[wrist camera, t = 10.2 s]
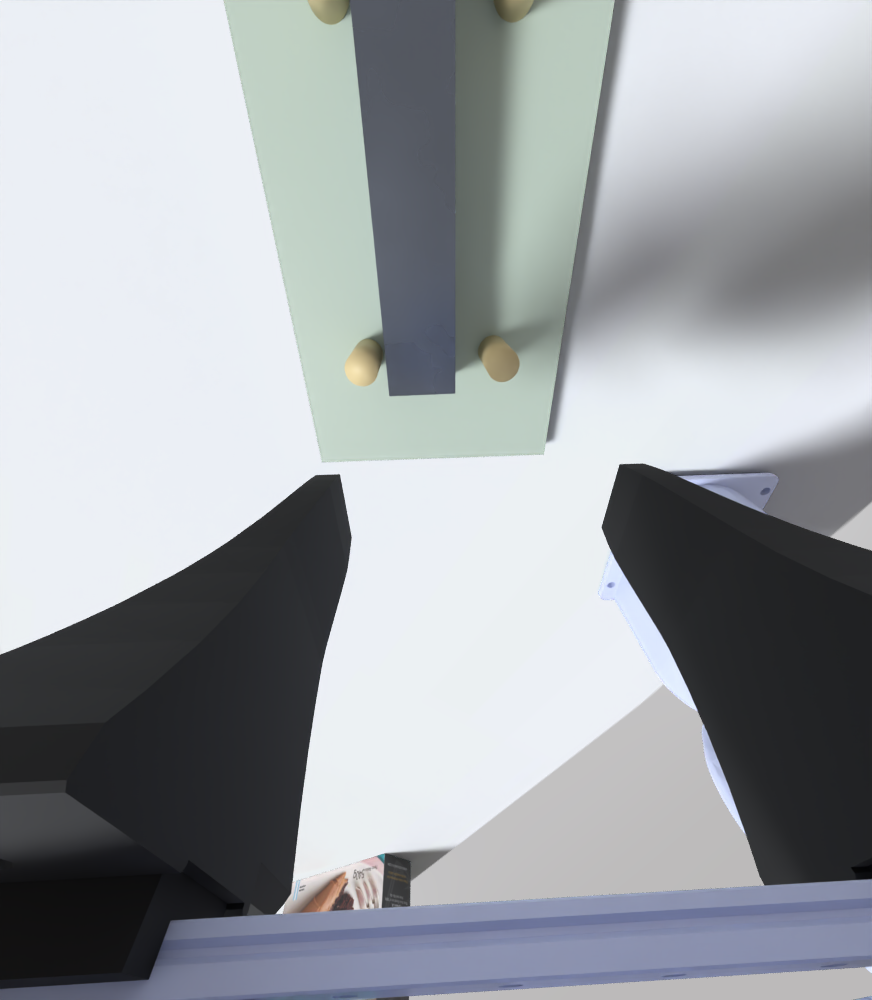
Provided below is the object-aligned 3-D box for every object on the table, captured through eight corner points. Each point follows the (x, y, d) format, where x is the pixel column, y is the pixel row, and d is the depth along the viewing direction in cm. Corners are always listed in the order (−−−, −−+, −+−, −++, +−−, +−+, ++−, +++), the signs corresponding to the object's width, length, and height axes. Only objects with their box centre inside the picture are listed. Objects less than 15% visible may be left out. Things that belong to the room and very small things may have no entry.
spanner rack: (538, 445, 19) (559, 480, 17) (326, 453, 19) (309, 489, 16) (656, -370, 8) (783, -702, 5) (158, -375, 8) (13, -722, 5)
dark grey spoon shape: (467, 373, 16) (475, 392, 14) (375, 377, 16) (369, 397, 14) (481, -343, 8) (503, -561, 6) (292, -339, 8) (244, -562, 6)
